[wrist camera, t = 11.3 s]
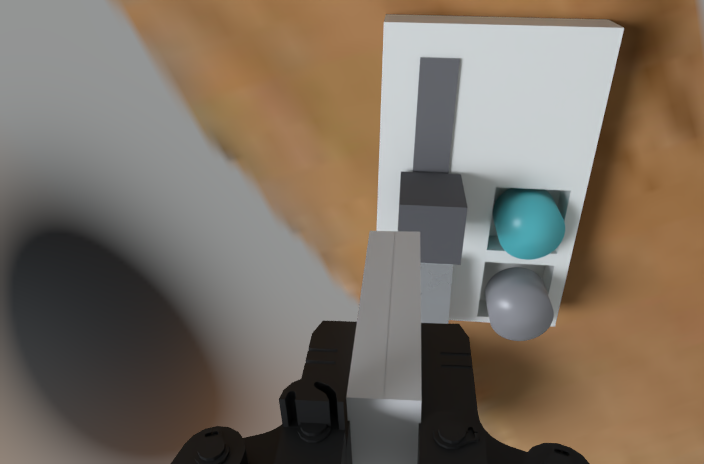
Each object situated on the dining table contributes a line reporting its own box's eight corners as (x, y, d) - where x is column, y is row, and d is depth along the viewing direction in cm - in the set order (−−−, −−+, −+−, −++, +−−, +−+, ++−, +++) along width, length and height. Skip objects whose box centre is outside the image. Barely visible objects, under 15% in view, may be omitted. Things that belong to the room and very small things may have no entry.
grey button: (488, 265, 42) (493, 289, 39) (549, 268, 41) (559, 292, 39) (481, 313, 44) (485, 338, 41) (539, 317, 44) (547, 342, 41)
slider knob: (400, 171, 38) (399, 204, 34) (461, 174, 38) (467, 207, 34) (397, 223, 40) (396, 261, 36) (455, 226, 40) (460, 264, 36)
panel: (385, 14, 37) (383, 24, 33) (608, 19, 36) (630, 30, 32) (375, 293, 48) (373, 323, 44) (546, 303, 47) (557, 334, 43)
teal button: (496, 182, 40) (502, 201, 38) (560, 185, 40) (571, 204, 37) (488, 236, 42) (494, 257, 40) (549, 239, 42) (558, 261, 39)
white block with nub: (396, 255, 42) (396, 262, 40) (451, 258, 41) (453, 265, 40) (392, 330, 43) (391, 338, 42) (445, 333, 43) (446, 342, 42)
